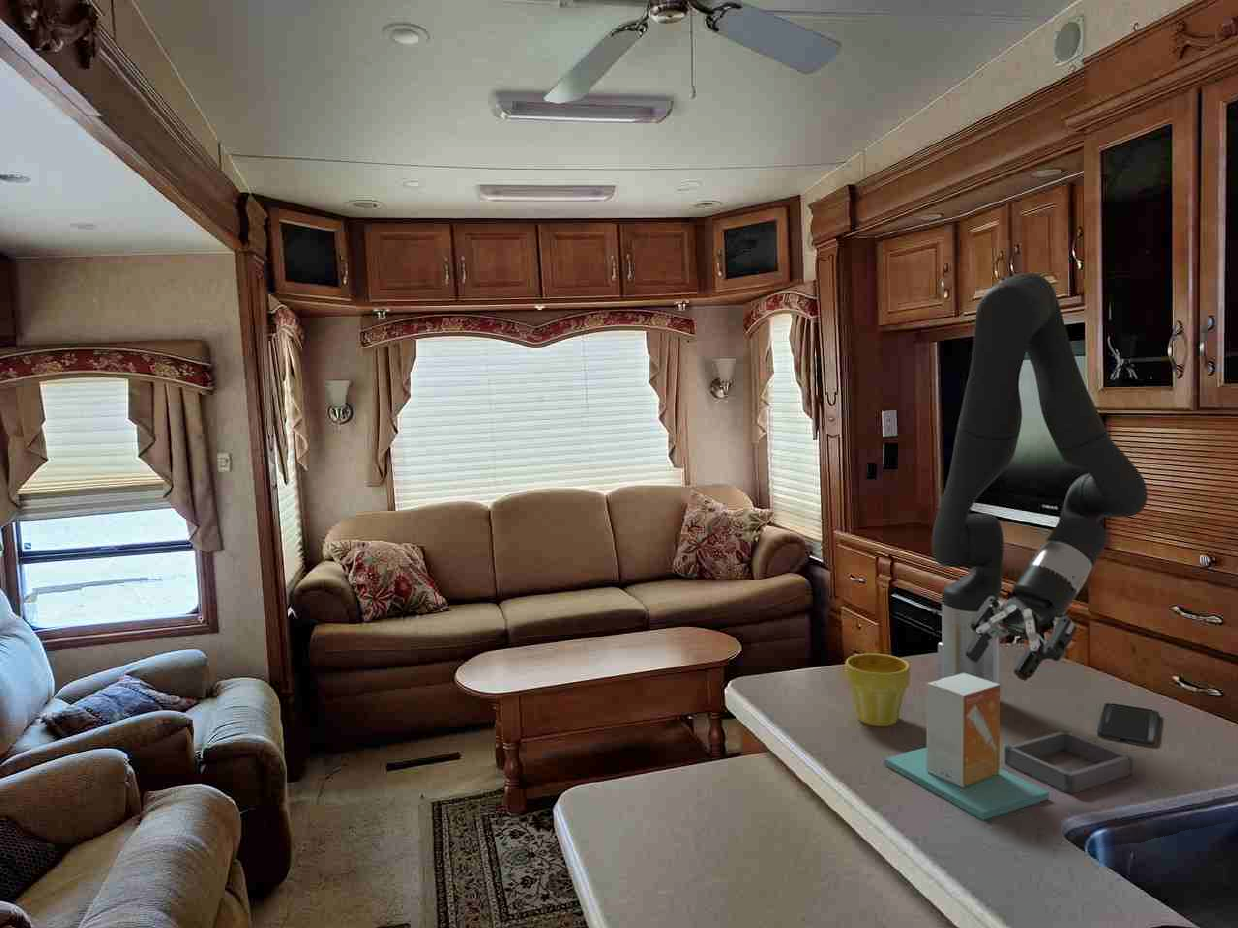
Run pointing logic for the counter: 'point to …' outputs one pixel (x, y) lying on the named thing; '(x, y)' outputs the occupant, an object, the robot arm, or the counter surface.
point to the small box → (963, 729)
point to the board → (970, 787)
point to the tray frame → (1070, 782)
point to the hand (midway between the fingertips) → (994, 667)
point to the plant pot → (877, 686)
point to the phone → (1129, 724)
